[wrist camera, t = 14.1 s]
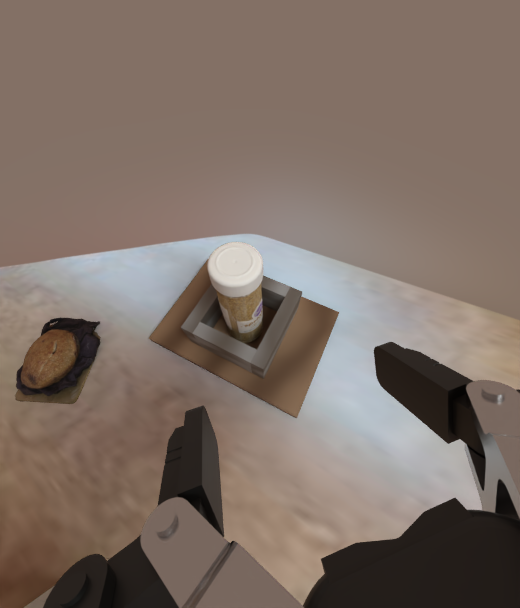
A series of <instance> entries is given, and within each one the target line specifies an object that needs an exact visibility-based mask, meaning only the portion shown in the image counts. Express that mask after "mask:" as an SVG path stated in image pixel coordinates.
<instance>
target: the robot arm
mask: <svg viewBox="0 0 520 608" xmlns="http://www.w3.org/2000/svg"><path fill="white" fill-rule="evenodd" d="M374 357H375V366H376V375H377V379H378V381H379V383H380V385H381V386H382V387H383V389H385V390H386V391H387V392H388V393H389V394H390V395H392V396H393V397H394V398H395V399H396V400H397V401H399V402H400V403H401V404H402V405H403V406H404V407H406V408H407V409H408V410H409V411H410V412H411V413H413V414H414V415H415V416H416V417H417V418H418V419H420V420H421V421H422V422H423V423H424V424H426V425H427V426H428V427H429V428H430V429H431V430H433V431H434V432H435V433H436V434H437V435H438V436H440V437H441V438H442V439H443V440H444V441H445V442H447V443H448V444H449V443H451V442H454V441H456V440H458V439H461V440H462V441H463V442H465V452H466V455H467V458H468V461H469V464H470V468H471V471H472V474H473V477H474V480H475V483H476V487H477V490H478V493H479V496H480V500H481V504H482V510H483V511H482V510H466V509H465V507H464V506H463V505H462V504H461V503H460V502H459V501H458V500H457V499H456V498H453V499H451V500H449V501H447V502H444V503H442V504H440V505H438V506H436V507H434V508H431V509H429V510H427V511H425V512H423V514H422V515H421V516H420V517H419V518H418V519H417V520H416V521H415V522H414V523H413V524H412V525H411V526H410V527H409V528H408V529H407V530H406V531H405V532H404V533H403V534H402V536H400V537H399V538H397V539H391V540H381V541H371V542H360V543H355V544H353V545H350V546H348V547H346V548H344V549H342V550H339V551H337V552H335V553H333V554H331V555H328V556H326V557H324V558H322V559H321V561H322V565H323V569H324V573H325V574H324V575H323V576H322V577H321V578H320V579H319V580H318V581H317V583H316V584H315V585H314V587H313V588H312V590H311V591H310V593H309V595H308V597H307V599H306V600H305V603H304V605H303V606H302V605H301V604H300V603H299V602H298V601H297V600H296V599H295V598H294V597H293V596H292V595H291V594H290V593H289V592H288V591H287V590H286V589H285V588H284V587H283V586H282V585H281V584H280V583H279V582H278V581H277V580H276V579H275V578H274V577H273V576H271V575H270V574H269V573H268V572H267V571H266V570H265V569H264V568H263V567H262V566H261V565H260V564H259V563H258V562H257V561H256V560H255V559H254V558H253V557H252V556H251V555H250V554H249V553H248V552H247V551H246V550H245V549H244V548H243V547H242V546H241V545H239V544H238V543H237V542H235V541H232V542H231V543H229V542H228V541H227V540H225V539H224V538H223V537H224V528H223V513H222V499H221V484H220V470H219V455H218V445H217V440H216V436H215V433H214V430H213V428H212V425H211V422H210V419H209V417H208V414H207V411H206V409H205V407H204V406H200V407H198V408H195V409H192V410H189V411H186V413H185V421H184V426H182V427H179V428H176V429H175V430H174V432H173V434H172V436H171V437H170V439H169V441H168V447H167V455H166V459H165V465H164V471H163V477H162V483H161V489H160V495H159V501H158V506H157V508H156V509H155V510H154V511H153V512H152V513H151V514H150V516H149V517H148V519H147V520H146V522H145V524H144V526H143V529H142V532H141V535H140V536H139V537H138V538H137V539H136V540H134V541H133V542H132V543H131V544H129V545H128V546H127V547H125V548H124V549H123V550H121V551H120V552H118V553H117V554H116V555H114V556H113V557H112V558H110V559H109V560H108V561H107V560H106V559H105V558H104V557H103V556H102V555H99V554H93V555H89V556H87V557H85V558H83V559H81V560H80V561H78V562H77V563H75V564H74V565H73V566H72V567H71V568H70V569H69V570H68V571H67V572H66V573H65V574H64V575H63V576H62V577H61V578H60V579H59V581H58V582H57V583H56V585H55V586H54V588H53V589H52V591H51V592H50V594H49V596H48V598H47V599H46V602H45V604H44V606H43V608H520V390H515V389H513V388H512V387H510V386H508V385H505V384H502V383H499V382H495V381H489V380H478V381H472V380H470V379H468V378H467V377H465V376H463V375H461V374H459V373H457V372H456V371H454V370H452V369H450V368H448V367H446V366H444V365H443V364H439V362H437V361H435V360H433V359H430V357H428V356H426V355H424V354H422V353H421V352H418V351H414V350H411V349H407V348H406V349H404V348H402V347H401V346H399V345H397V344H395V343H393V342H389V343H386V344H383V345H380V346H377V347H375V348H374Z"/></svg>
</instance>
